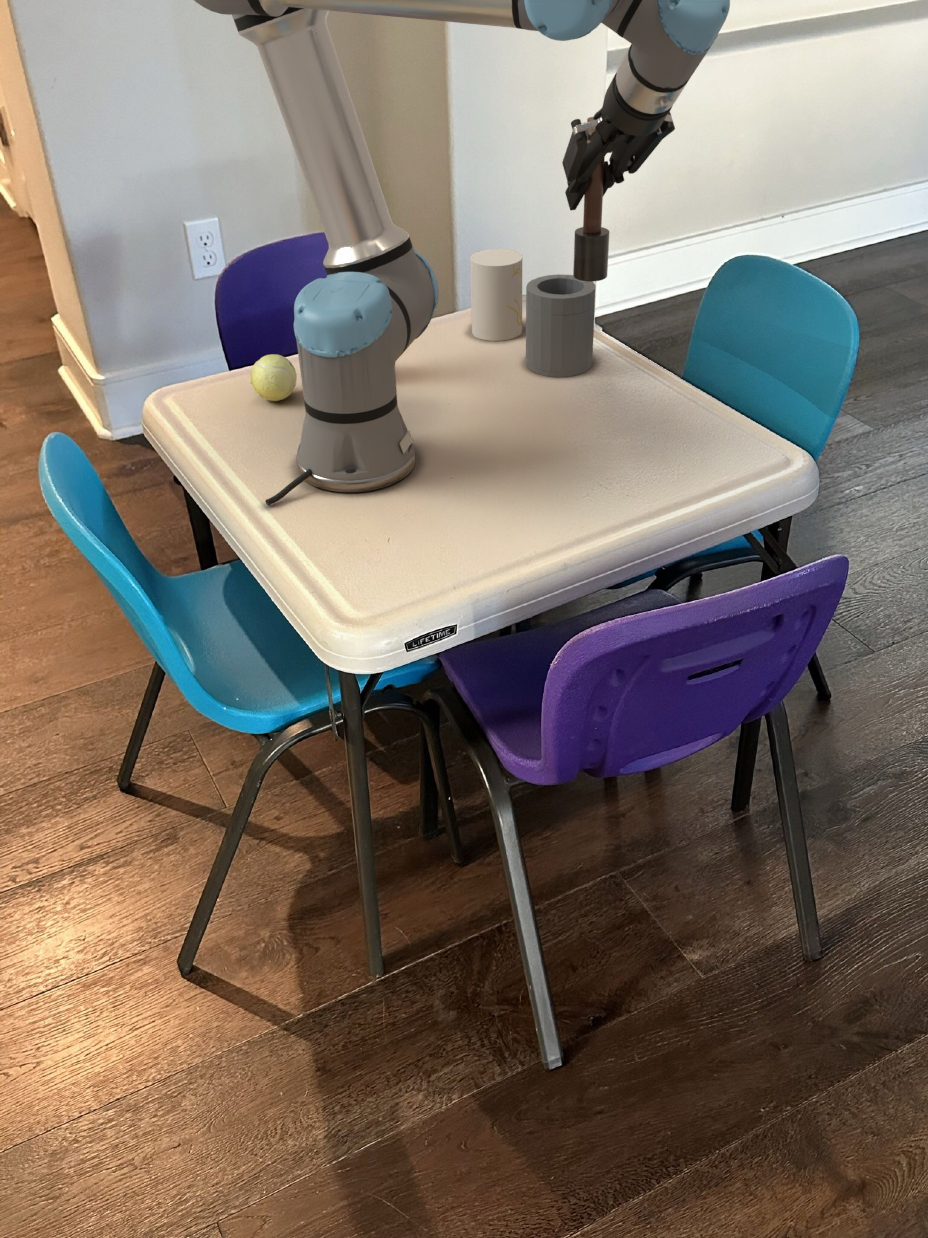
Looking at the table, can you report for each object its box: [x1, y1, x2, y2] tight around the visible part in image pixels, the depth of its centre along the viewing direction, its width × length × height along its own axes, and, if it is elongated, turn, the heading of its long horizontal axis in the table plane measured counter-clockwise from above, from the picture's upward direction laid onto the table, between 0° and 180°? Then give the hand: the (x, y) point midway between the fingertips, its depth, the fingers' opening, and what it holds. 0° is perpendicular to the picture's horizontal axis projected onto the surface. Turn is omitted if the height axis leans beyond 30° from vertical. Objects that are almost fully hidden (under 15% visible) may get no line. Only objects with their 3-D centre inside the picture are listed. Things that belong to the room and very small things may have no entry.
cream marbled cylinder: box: [469, 248, 523, 342], centre depth 179 cm, size 8×8×12 cm
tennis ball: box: [249, 353, 297, 402], centre depth 162 cm, size 6×7×7 cm
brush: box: [572, 116, 610, 283], centre depth 147 cm, size 5×5×20 cm
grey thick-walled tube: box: [525, 273, 597, 378], centre depth 168 cm, size 10×10×12 cm
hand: (580, 199), depth 151 cm, fingers closed on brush, 2 cm apart
